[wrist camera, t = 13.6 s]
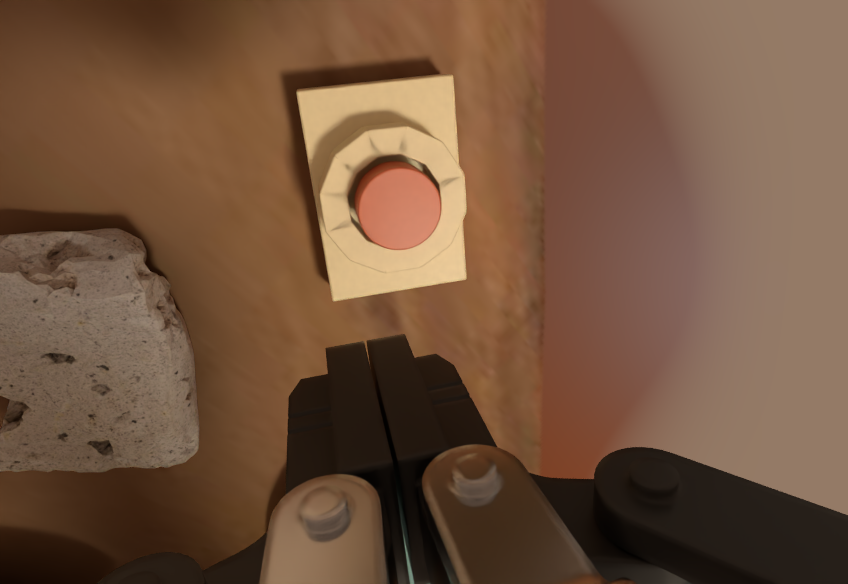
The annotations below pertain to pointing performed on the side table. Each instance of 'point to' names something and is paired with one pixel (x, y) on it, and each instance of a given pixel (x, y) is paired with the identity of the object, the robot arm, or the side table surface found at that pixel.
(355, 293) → the doorbell
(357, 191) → the bell button
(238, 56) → the side table surface
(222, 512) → the side table surface
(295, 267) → the side table surface
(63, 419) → the stone
